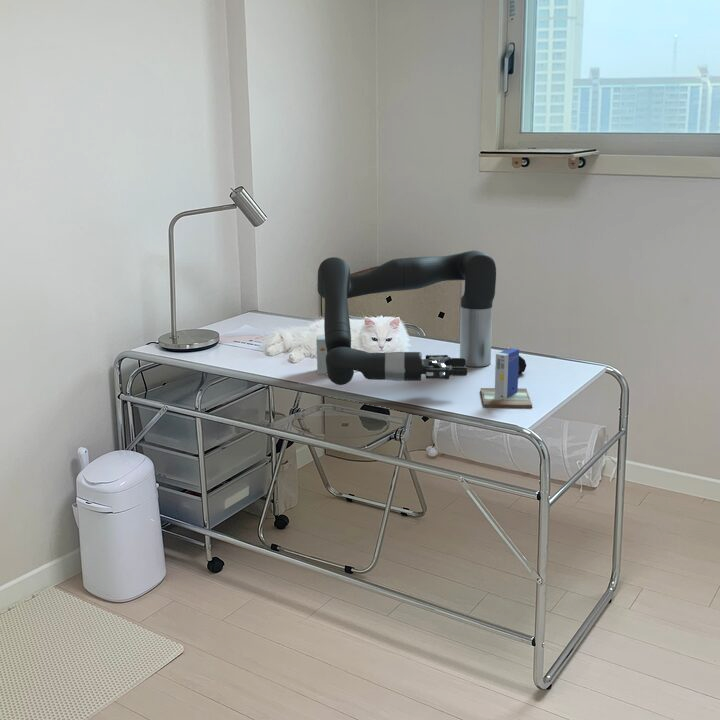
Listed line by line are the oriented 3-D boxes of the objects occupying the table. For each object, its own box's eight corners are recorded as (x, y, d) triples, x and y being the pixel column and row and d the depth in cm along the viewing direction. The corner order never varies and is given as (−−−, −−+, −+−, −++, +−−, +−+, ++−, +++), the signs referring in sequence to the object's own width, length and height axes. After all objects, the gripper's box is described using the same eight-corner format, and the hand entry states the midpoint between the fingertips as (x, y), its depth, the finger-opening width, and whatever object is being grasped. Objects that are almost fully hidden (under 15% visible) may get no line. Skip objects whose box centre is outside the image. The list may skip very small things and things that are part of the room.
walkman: (508, 390, 229) (509, 346, 225) (517, 392, 227) (519, 348, 224) (493, 397, 223) (495, 352, 219) (503, 399, 221) (504, 354, 218)
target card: (480, 390, 231) (480, 387, 231) (526, 391, 231) (526, 388, 230) (484, 407, 218) (484, 404, 218) (532, 407, 217) (532, 404, 217)
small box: (345, 369, 254) (344, 334, 251) (345, 374, 248) (344, 338, 246) (317, 369, 254) (316, 334, 251) (317, 374, 248) (316, 339, 245)
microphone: (508, 401, 233) (524, 373, 250) (514, 383, 230) (530, 356, 247) (489, 393, 234) (506, 366, 251) (495, 375, 231) (512, 349, 248)
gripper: (403, 372, 232) (464, 373, 231) (402, 388, 218) (467, 389, 217) (403, 345, 230) (465, 345, 229) (402, 359, 216) (467, 360, 215)
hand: (466, 366), depth 223 cm, fingers open, 8 cm apart
